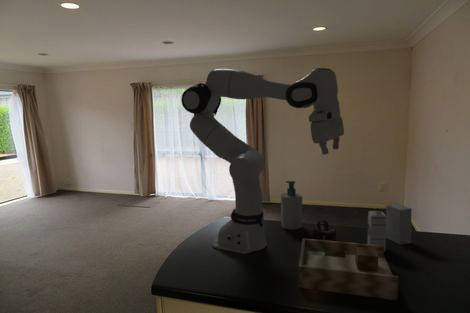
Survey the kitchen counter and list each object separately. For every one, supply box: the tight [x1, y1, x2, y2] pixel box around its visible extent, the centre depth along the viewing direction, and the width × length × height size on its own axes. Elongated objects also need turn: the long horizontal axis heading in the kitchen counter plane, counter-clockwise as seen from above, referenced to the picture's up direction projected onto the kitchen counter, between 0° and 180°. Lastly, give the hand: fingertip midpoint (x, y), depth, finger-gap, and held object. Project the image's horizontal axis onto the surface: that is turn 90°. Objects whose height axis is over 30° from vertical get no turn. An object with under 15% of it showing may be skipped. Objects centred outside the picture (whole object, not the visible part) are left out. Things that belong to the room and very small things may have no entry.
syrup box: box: [366, 210, 387, 252], centre depth 120 cm, size 6×6×14 cm
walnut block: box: [355, 247, 378, 272], centre depth 99 cm, size 6×6×5 cm
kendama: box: [311, 219, 337, 241], centre depth 132 cm, size 6×10×20 cm
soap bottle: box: [280, 180, 303, 231], centre depth 145 cm, size 10×9×22 cm
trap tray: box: [297, 238, 400, 301], centre depth 101 cm, size 28×22×7 cm
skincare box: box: [385, 203, 412, 246], centre depth 127 cm, size 8×6×15 cm
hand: (330, 151), depth 111 cm, fingers open, 8 cm apart
